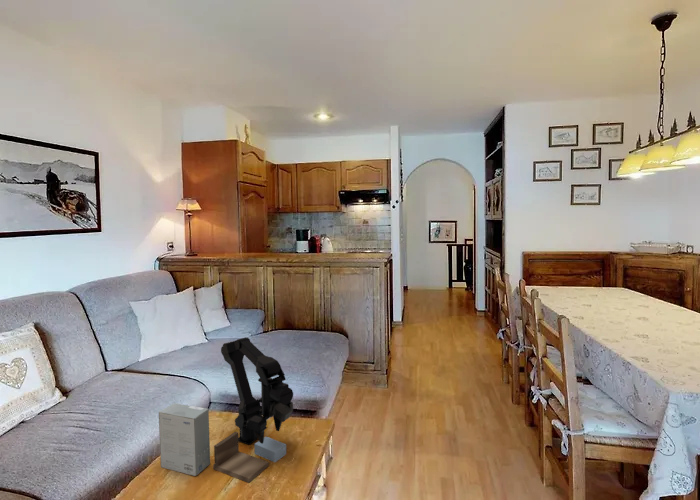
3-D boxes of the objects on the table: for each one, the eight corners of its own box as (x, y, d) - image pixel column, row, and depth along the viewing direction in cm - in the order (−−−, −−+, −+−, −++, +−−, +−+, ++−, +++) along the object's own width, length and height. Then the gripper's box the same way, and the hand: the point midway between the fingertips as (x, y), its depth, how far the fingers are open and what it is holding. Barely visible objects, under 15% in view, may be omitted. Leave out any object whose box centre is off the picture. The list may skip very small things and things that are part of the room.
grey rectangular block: (254, 454, 142) (254, 443, 142) (266, 446, 147) (266, 436, 147) (274, 463, 137) (274, 452, 137) (286, 454, 142) (286, 444, 142)
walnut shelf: (213, 468, 133) (212, 445, 133) (234, 453, 142) (233, 431, 142) (249, 482, 126) (248, 457, 126) (268, 465, 135) (268, 442, 135)
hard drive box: (211, 463, 136) (209, 408, 135) (196, 477, 129) (194, 419, 128) (176, 455, 141) (174, 402, 140) (159, 467, 134) (157, 411, 133)
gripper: (270, 411, 129) (271, 456, 130) (302, 390, 145) (302, 430, 147) (245, 404, 134) (245, 447, 135) (278, 384, 150) (278, 423, 152)
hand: (270, 436), depth 142 cm, fingers open, 9 cm apart
